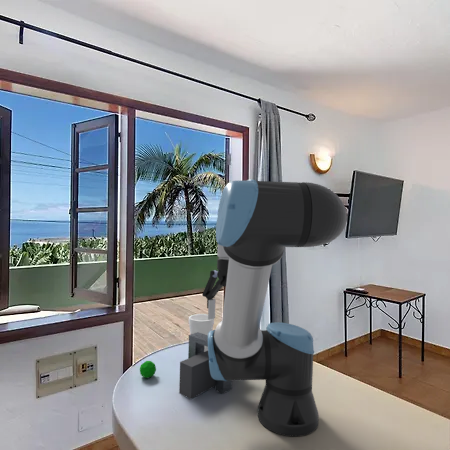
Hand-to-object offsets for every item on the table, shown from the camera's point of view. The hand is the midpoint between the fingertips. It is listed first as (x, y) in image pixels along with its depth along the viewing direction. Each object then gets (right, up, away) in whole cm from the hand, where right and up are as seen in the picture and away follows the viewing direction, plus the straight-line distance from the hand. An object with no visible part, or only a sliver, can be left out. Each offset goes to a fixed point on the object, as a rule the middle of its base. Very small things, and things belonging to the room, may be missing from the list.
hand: (227, 323), depth 110 cm
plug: (-6, -17, -6) cm, 19 cm away
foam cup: (-10, -16, +18) cm, 26 cm away
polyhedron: (-25, -16, -3) cm, 30 cm away
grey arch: (-6, -17, -6) cm, 18 cm away
